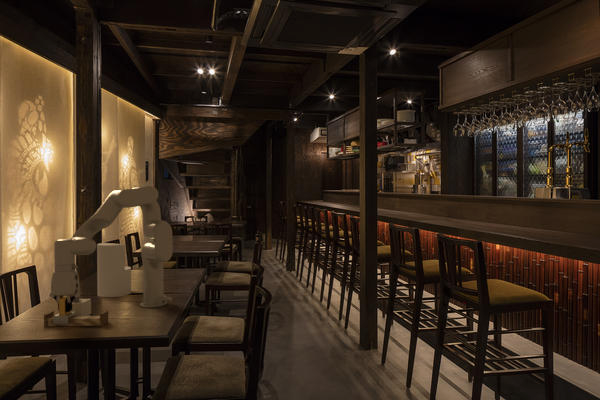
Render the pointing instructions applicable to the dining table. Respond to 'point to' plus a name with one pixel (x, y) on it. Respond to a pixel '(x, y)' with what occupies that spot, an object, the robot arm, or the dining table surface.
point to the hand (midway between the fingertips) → (65, 311)
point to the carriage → (63, 313)
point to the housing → (82, 307)
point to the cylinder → (112, 270)
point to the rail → (79, 320)
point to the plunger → (75, 300)
